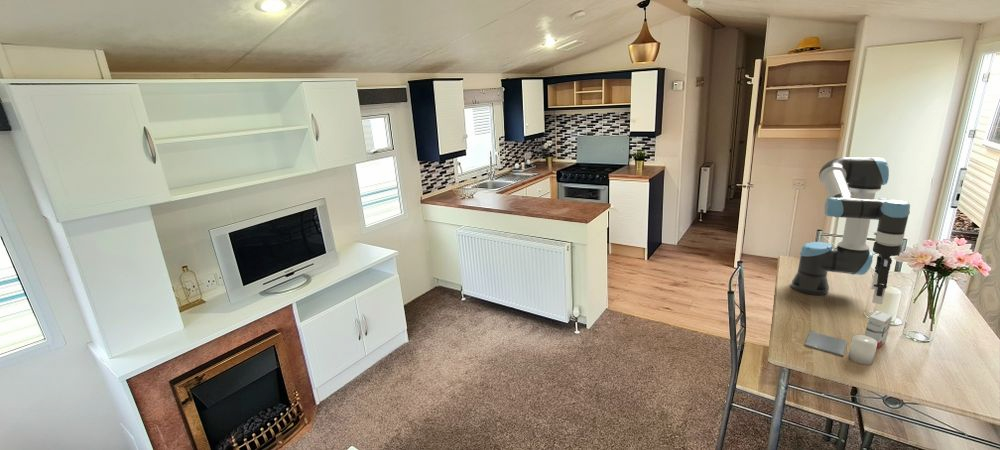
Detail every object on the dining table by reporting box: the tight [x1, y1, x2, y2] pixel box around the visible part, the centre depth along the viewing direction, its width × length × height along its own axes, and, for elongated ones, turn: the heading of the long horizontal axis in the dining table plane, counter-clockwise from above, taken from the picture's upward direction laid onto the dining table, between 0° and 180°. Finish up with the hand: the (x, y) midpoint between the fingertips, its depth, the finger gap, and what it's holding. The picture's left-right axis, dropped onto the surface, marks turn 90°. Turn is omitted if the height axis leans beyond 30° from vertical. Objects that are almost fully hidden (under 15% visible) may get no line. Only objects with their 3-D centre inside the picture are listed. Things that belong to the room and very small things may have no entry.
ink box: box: [864, 310, 893, 350], centre depth 169 cm, size 8×5×12 cm, turn 123°
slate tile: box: [804, 331, 848, 357], centre depth 171 cm, size 12×12×1 cm
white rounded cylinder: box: [848, 334, 877, 366], centre depth 160 cm, size 7×7×8 cm
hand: (876, 296), depth 165 cm, fingers open, 13 cm apart
